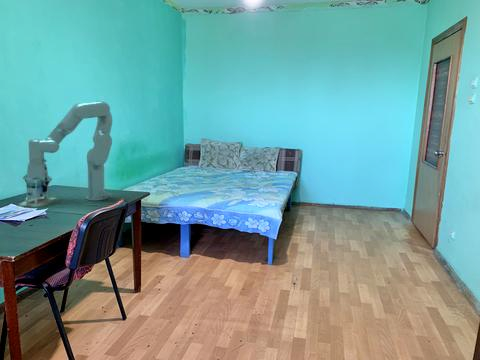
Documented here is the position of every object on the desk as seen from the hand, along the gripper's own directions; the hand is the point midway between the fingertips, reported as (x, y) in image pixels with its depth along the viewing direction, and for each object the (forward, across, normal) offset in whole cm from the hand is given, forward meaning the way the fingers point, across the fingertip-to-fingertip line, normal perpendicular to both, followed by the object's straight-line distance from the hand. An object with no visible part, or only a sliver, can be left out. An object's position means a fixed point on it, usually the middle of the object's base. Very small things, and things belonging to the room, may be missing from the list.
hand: (38, 191), depth 213 cm
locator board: (+7, 0, 0) cm, 7 cm away
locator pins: (+7, 0, 0) cm, 7 cm away
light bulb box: (+3, 0, 0) cm, 3 cm away
